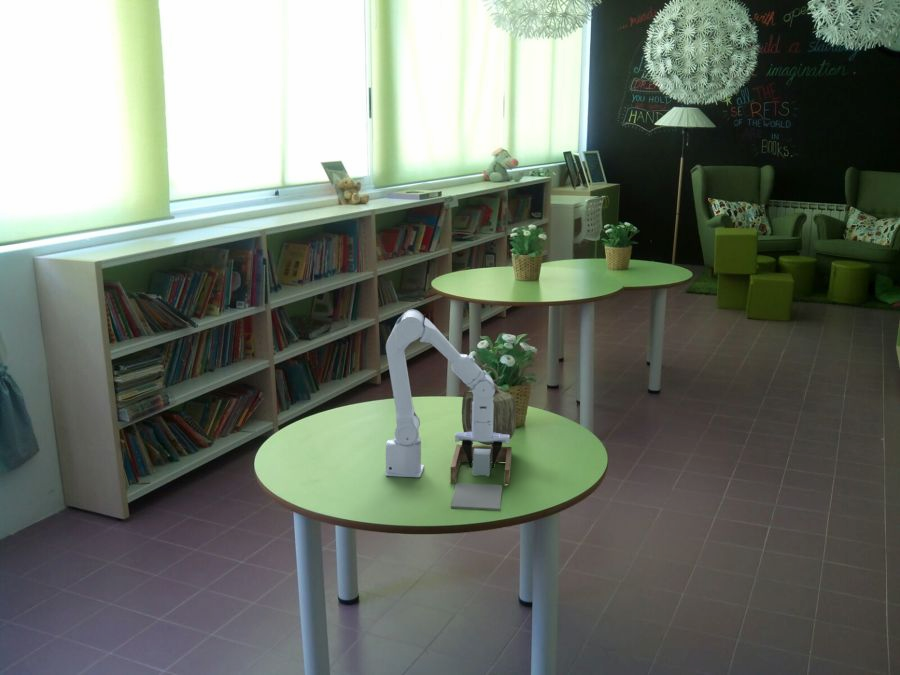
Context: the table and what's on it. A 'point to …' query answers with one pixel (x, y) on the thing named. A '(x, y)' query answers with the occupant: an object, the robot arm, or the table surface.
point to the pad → (477, 496)
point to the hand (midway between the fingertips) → (481, 466)
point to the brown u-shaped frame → (461, 456)
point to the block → (481, 461)
